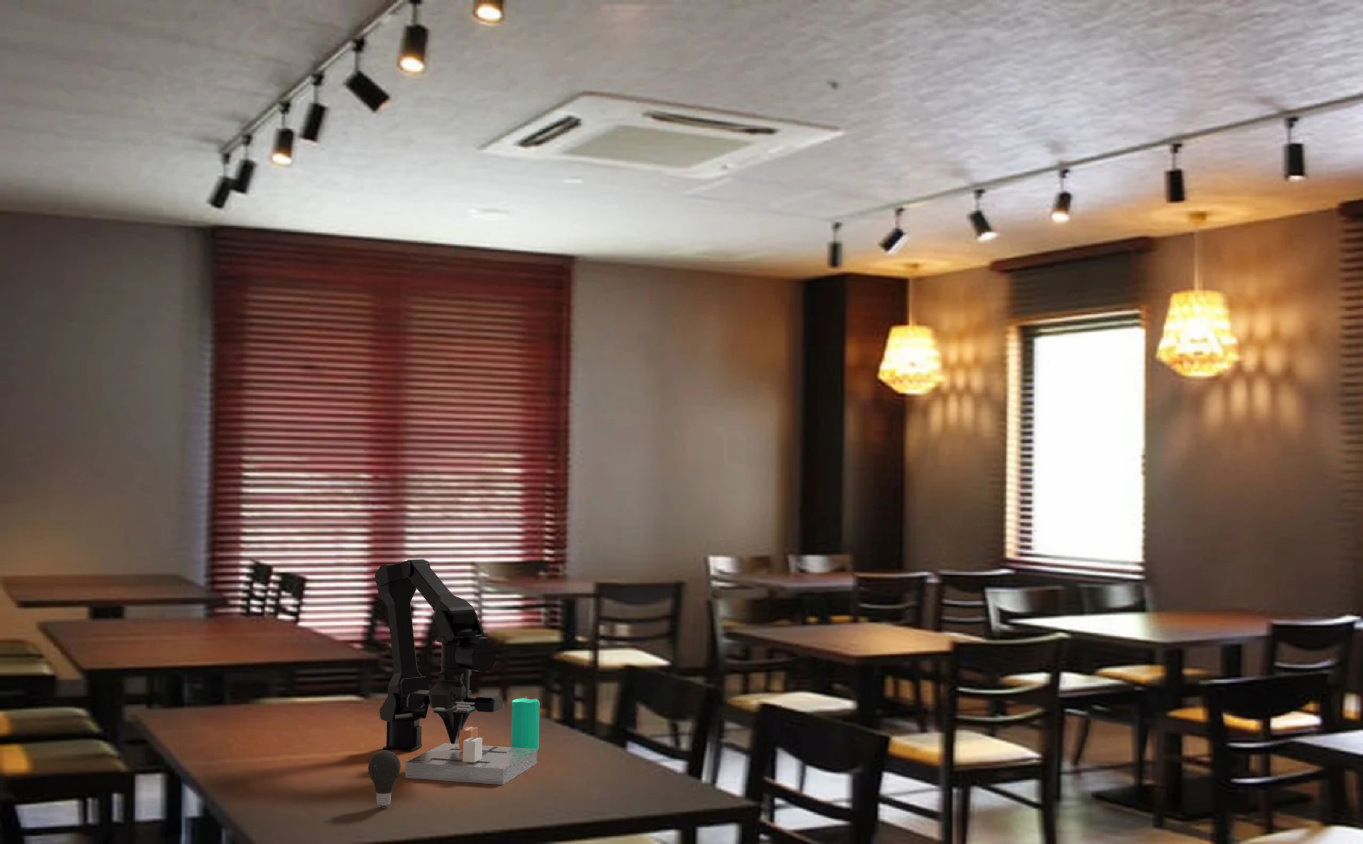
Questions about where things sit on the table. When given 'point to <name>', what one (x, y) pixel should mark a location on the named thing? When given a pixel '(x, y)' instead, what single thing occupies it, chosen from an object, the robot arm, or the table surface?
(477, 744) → the fader cream
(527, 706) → the candle
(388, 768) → the light bulb
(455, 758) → the grey slider board
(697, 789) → the table surface
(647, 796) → the table surface
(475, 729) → the fader orange
